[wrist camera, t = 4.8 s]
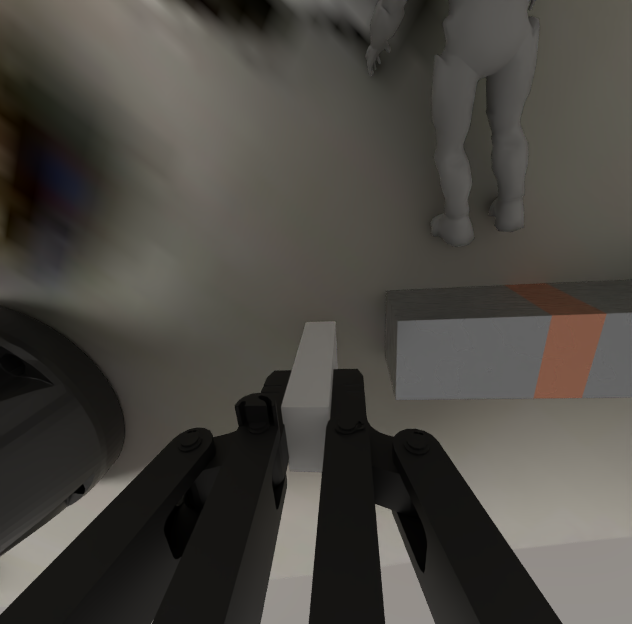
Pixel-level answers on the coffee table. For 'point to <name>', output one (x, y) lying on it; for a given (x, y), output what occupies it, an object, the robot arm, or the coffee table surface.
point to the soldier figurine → (458, 99)
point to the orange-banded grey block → (511, 341)
